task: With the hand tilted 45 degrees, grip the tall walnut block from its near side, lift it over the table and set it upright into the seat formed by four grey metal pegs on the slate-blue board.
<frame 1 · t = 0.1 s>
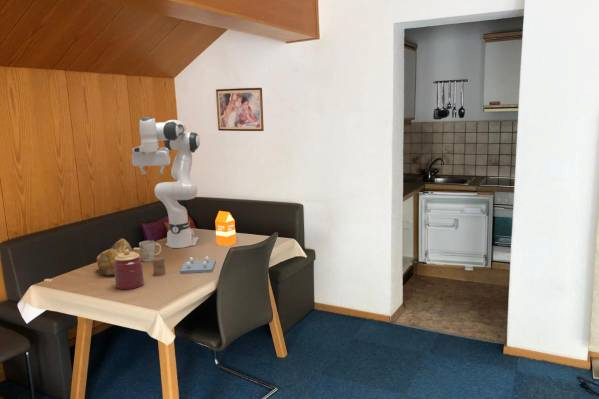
hand: (152, 174, 270), 48 cm above the table, tool pointing down, fingers open, 8 cm apart
walnut block: (159, 274, 256), on the table
mug: (152, 259, 283), on the table
orange juice: (226, 244, 308), on the table
peg seat: (198, 267, 264), on the table
canister: (130, 285, 242), on the table
rough brown rock: (113, 270, 266), on the table
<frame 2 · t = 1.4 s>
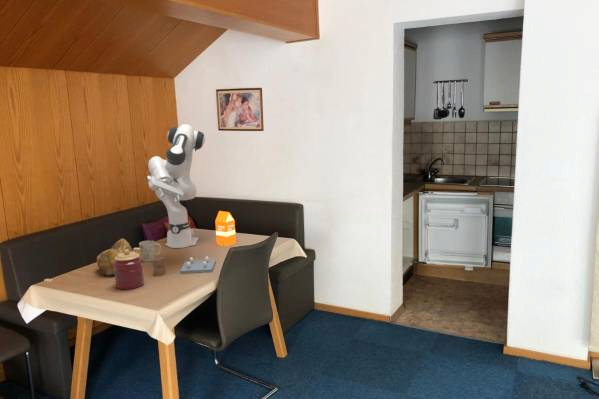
hand: (170, 199, 256), 37 cm above the table, tool tilted 55°, fingers open, 8 cm apart
nothing on the table moved.
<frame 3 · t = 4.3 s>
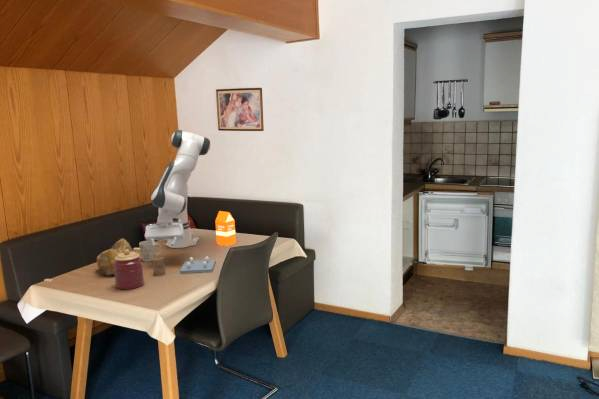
hand: (163, 245, 263), 12 cm above the table, tool tilted 45°, fingers open, 8 cm apart
nothing on the table moved.
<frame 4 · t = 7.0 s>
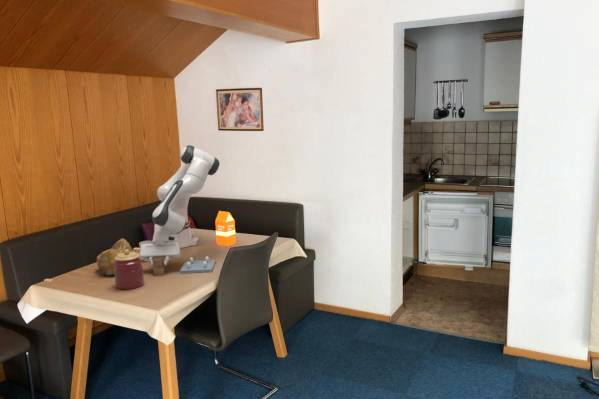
hand: (158, 265, 255), 5 cm above the table, tool tilted 45°, fingers closed on walnut block, 4 cm apart
walnut block: (159, 274, 256), on the table, touching gripper
everything else where it was.
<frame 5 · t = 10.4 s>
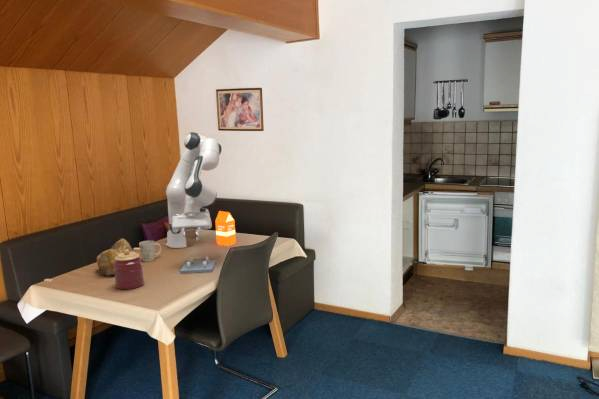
hand: (190, 236, 259), 17 cm above the table, tool tilted 45°, fingers closed on walnut block, 4 cm apart
walnut block: (191, 244, 260), point 13 cm above the table, touching gripper
everything else where it was.
when the fingers open (7 cm above the table, at t = 13.6 s): walnut block stays where it is, resting on peg seat.
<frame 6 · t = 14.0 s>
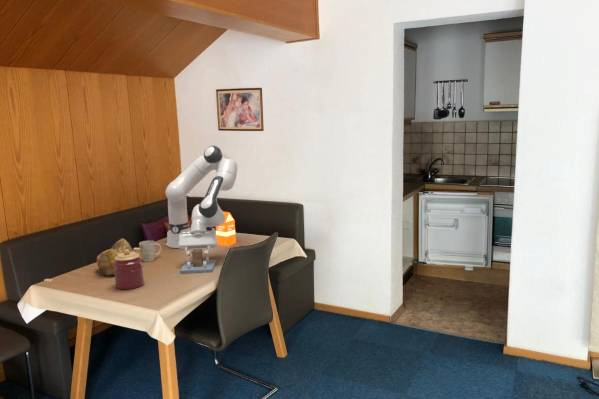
hand: (197, 254, 262), 7 cm above the table, tool tilted 45°, fingers open, 8 cm apart
walnut block: (198, 265, 263), point 1 cm above the table, touching peg seat
everything else where it was.
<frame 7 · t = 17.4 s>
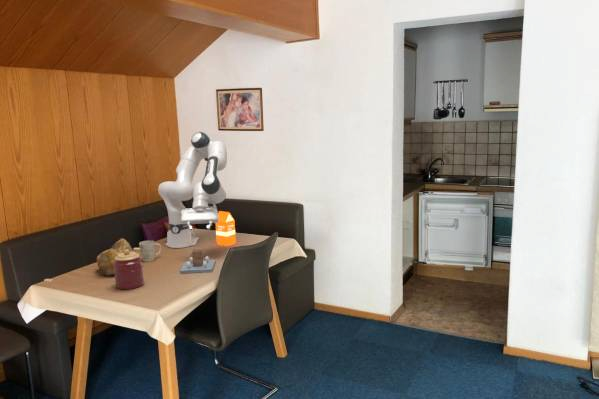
hand: (199, 229, 272), 18 cm above the table, tool tilted 45°, fingers open, 8 cm apart
nothing on the table moved.
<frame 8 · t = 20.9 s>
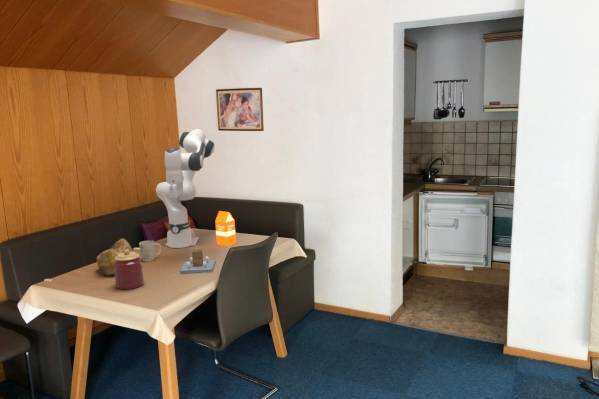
hand: (176, 204, 272), 31 cm above the table, tool pointing down, fingers open, 8 cm apart
nothing on the table moved.
at the end: walnut block 0.1 cm off-centre on the peg seat, point 1.5 cm above the peg seat's base; walnut block tilted 0°; the gripper is holding nothing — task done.
